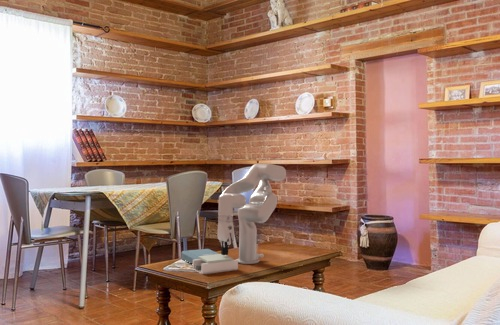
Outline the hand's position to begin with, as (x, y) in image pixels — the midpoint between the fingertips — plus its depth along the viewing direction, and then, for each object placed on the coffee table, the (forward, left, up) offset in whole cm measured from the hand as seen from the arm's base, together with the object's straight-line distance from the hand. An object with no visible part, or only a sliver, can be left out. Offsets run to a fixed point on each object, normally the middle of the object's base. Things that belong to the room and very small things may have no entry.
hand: (224, 254), depth 244 cm
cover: (+5, 0, -2) cm, 5 cm away
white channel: (+5, 0, -7) cm, 9 cm away
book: (+3, -19, -8) cm, 21 cm away
